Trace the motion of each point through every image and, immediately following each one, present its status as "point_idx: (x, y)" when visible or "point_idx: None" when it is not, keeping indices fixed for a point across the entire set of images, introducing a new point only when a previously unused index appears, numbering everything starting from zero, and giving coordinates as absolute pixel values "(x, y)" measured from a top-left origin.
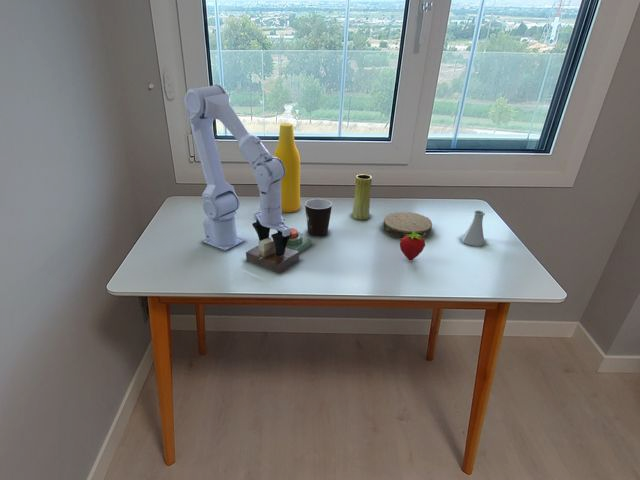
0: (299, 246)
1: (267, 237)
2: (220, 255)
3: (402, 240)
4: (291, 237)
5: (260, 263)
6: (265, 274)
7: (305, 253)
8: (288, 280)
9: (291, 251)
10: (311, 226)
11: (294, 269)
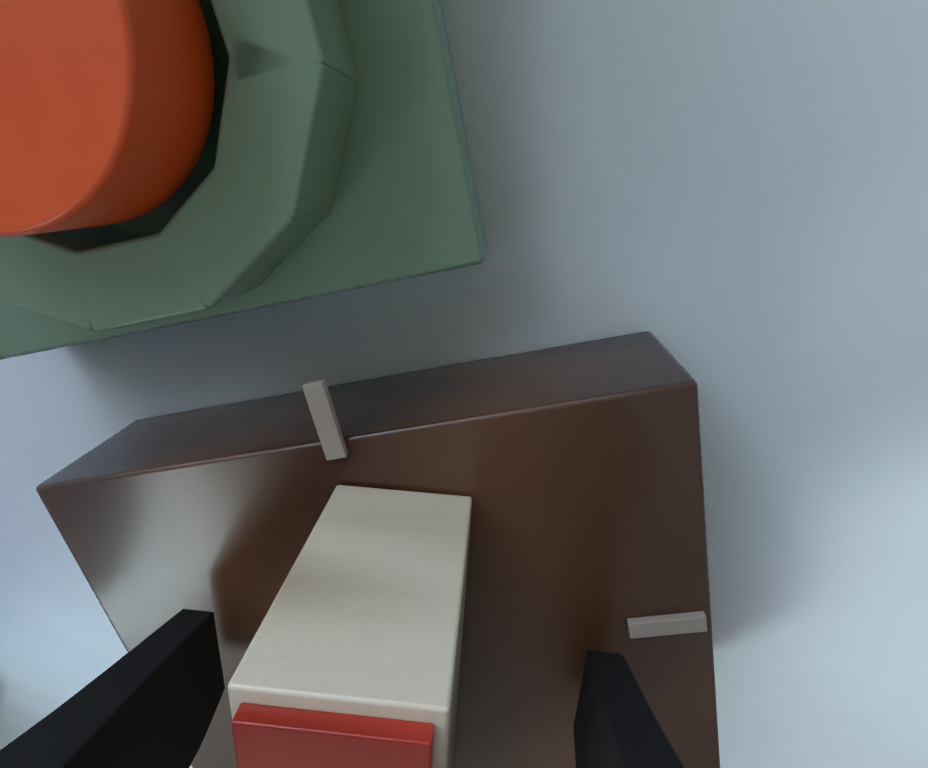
0: (440, 120)
1: (125, 734)
2: None
3: None
4: (178, 144)
5: None
6: None
7: (557, 85)
8: (848, 680)
9: (593, 472)
10: None
11: (752, 510)
